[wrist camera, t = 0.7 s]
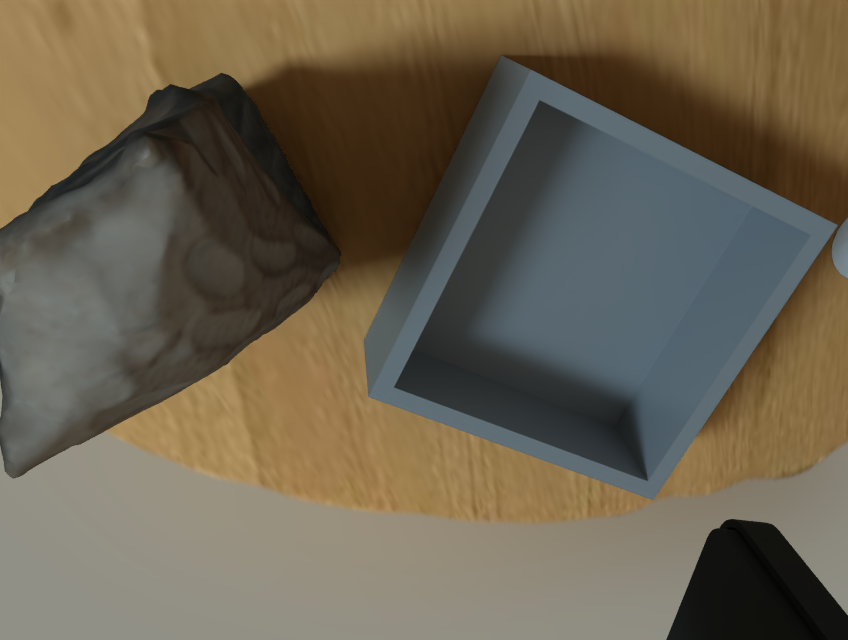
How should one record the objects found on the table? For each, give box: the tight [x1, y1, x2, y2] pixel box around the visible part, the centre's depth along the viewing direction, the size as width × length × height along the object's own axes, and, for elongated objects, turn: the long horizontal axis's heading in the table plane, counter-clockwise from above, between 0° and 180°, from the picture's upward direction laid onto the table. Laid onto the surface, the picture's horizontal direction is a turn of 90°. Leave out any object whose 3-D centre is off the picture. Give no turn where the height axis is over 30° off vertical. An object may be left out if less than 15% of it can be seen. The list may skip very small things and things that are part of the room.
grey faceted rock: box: [0, 73, 341, 478], centre depth 34 cm, size 13×13×20 cm
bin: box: [364, 55, 838, 500], centre depth 44 cm, size 18×18×7 cm
